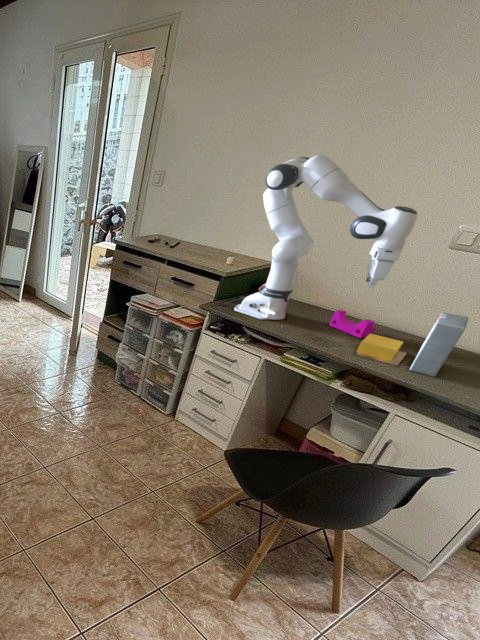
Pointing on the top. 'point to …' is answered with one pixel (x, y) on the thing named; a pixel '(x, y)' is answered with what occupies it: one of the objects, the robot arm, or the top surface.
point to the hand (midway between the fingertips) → (369, 285)
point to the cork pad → (394, 361)
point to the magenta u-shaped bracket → (352, 325)
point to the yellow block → (380, 347)
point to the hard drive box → (439, 343)
